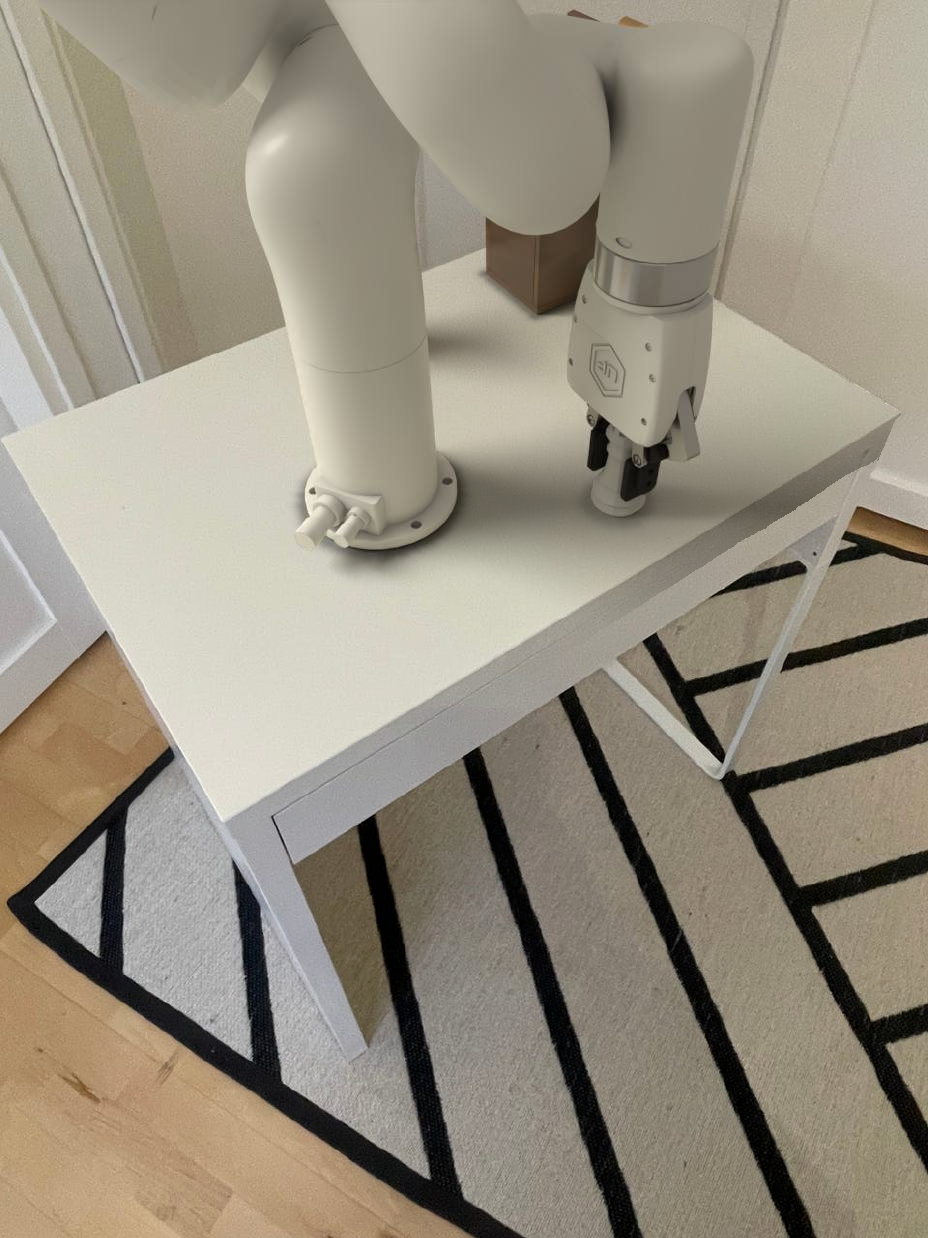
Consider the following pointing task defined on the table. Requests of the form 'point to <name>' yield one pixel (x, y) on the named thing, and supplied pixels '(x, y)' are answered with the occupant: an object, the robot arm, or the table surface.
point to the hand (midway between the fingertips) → (621, 476)
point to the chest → (542, 261)
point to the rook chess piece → (614, 478)
